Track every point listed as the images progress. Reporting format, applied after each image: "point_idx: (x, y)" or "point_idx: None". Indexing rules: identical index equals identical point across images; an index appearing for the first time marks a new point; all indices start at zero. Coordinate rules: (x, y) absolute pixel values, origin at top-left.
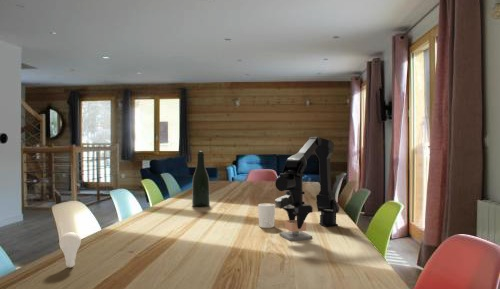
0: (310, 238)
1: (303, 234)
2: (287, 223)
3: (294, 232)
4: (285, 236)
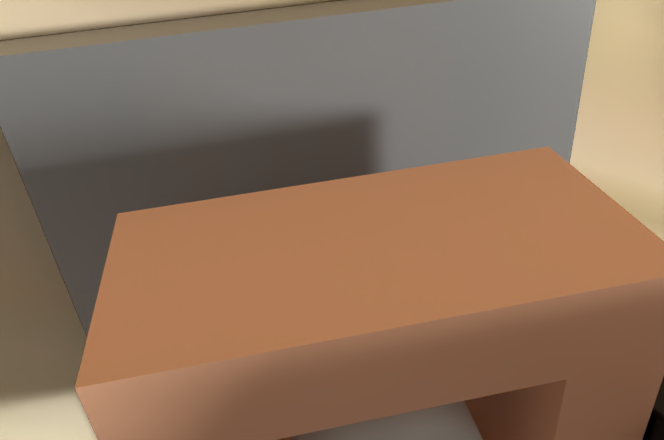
0: None
1: None
2: (460, 268)
3: None
4: (235, 24)
